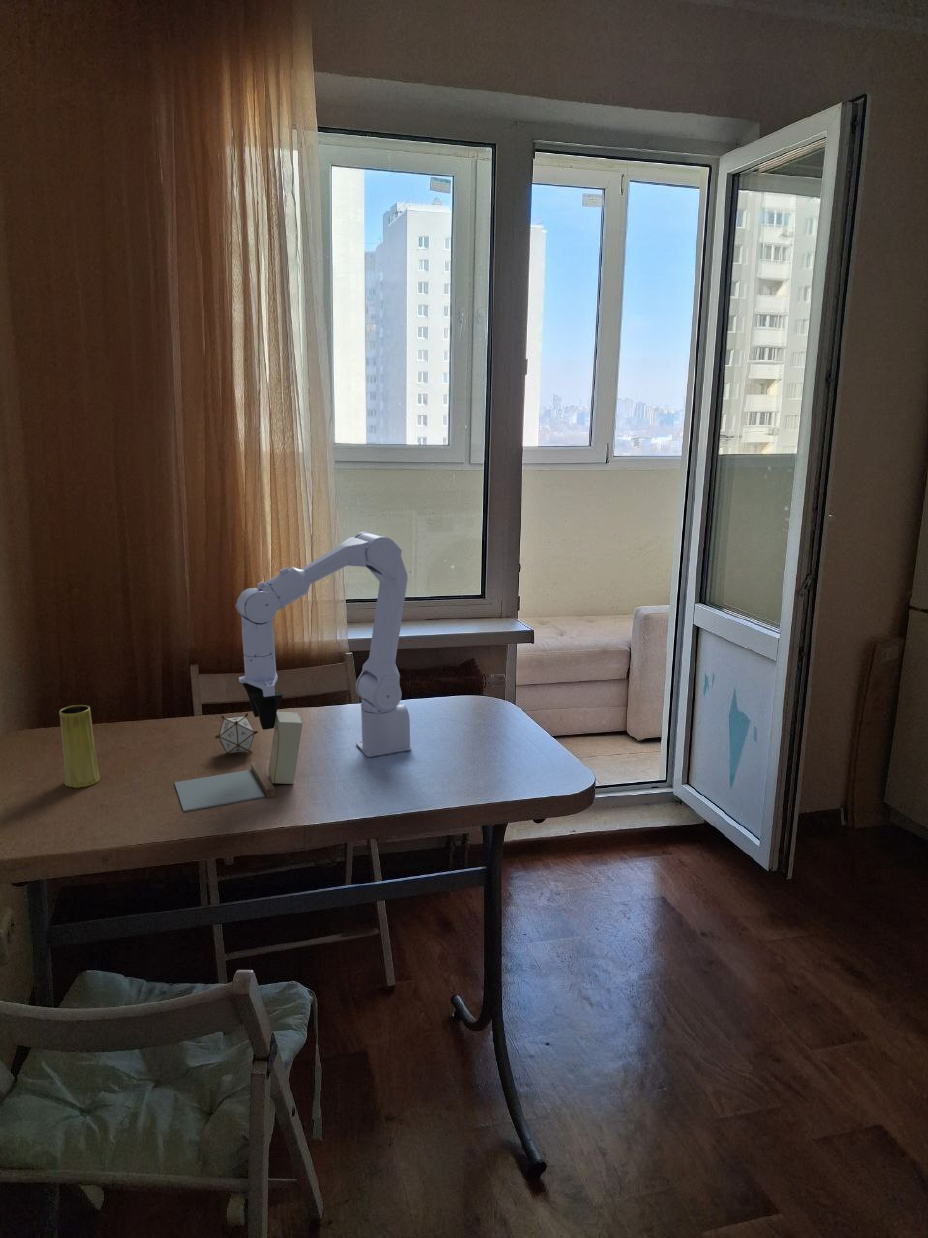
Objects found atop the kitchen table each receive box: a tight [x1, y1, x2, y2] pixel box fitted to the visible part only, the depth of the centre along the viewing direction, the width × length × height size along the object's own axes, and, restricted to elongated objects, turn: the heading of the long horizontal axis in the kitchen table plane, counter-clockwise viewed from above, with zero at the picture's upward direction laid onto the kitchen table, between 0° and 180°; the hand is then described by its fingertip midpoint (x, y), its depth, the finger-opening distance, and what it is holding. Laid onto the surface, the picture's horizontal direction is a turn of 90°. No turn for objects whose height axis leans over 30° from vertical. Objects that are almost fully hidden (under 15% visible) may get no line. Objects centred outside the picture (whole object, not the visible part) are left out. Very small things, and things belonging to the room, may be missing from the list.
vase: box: [58, 704, 101, 789], centre depth 161 cm, size 6×6×14 cm
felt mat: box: [174, 769, 266, 813], centre depth 158 cm, size 14×13×1 cm
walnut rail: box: [250, 761, 276, 799], centre depth 161 cm, size 2×14×2 cm, turn 25°
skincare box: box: [268, 710, 303, 785], centre depth 162 cm, size 6×4×12 cm
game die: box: [214, 712, 259, 758], centre depth 175 cm, size 9×8×10 cm
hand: (263, 722), depth 164 cm, fingers open, 7 cm apart
